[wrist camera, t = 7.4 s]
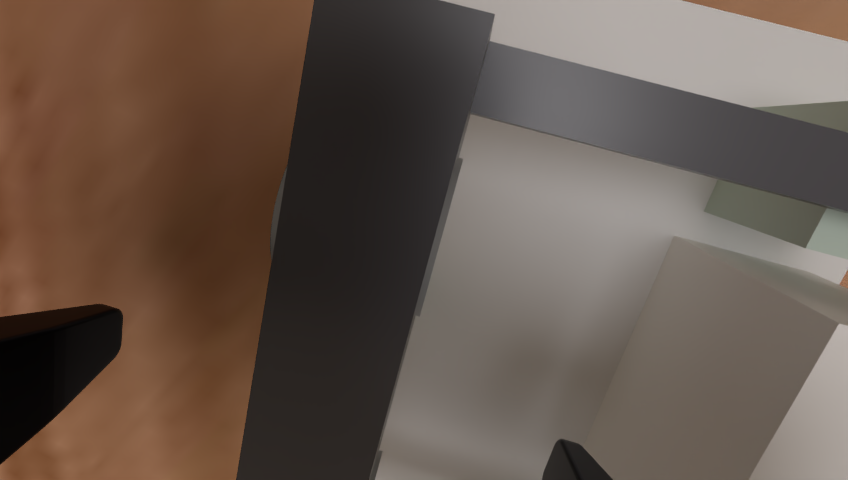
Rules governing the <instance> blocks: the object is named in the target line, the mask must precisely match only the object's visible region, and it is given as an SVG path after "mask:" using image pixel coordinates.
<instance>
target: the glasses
mask: <svg viewBox="0 0 848 480" xmlns="http://www.w3.org/2000/svg"><path fill="white" fill-rule="evenodd" d="M494 17H495V14H493V13H489V12H485V11H481V10H477V9H473V8H469V7H465V6H461V5H457V4H453V3H449V2H445V1H441V0H314V5H313V11H312V18H311V24H310V30H309V36H308V42H307V48H306V54H305V61H304V67H303V73H302V79H301V85H300V91H299V97H298V104H297V110H296V116H295V122H294V128H293V134H292V140H291V147H290V153H289V159H288V165H287V167H286V169H285V172H284V175H283V178H282V181H281V184H280V187H279V191H278V194H277V198H276V202H275V207H274V212H273V218H272V225H271V237H270V251H271V260H272V263H271V269H270V275H269V282H268V288H267V294H266V300H265V306H264V312H263V318H262V325H261V331H260V337H259V343H258V349H257V355H256V361H255V368H254V374H253V380H252V386H251V392H250V398H249V404H248V411H247V417H246V423H245V429H244V435H243V441H242V447H241V454H240V460H239V466H238V472H237V478H236V480H375V477H376V474H377V470H378V467H379V463H380V459H381V456H382V452H383V451H381V450H379V448H380V445H381V441H382V437H383V434H384V430H385V426H386V423H387V419H388V415H389V412H390V408H391V404H392V401H393V397H394V393H395V390H396V386H397V382H398V379H399V375H400V371H401V368H402V364H403V360H404V357H405V353H406V349H407V346H408V342H409V338H410V335H411V331H412V327H413V324H414V320H415V316H418V317H420V314H421V310H422V307H423V303H424V300H425V296H426V292H427V289H428V285H429V282H430V278H431V274H432V271H433V267H434V263H435V260H436V256H437V253H438V249H439V245H440V242H441V238H442V235H443V231H444V227H445V224H446V220H447V216H448V213H449V209H450V206H451V202H452V198H453V195H454V191H455V187H456V184H457V180H458V176H459V173H460V169H461V166H462V162H463V159H462V158H459V155H460V151H461V148H462V144H463V140H464V137H465V133H466V129H467V126H468V122H469V118H470V115H471V114H472V115H476V116H479V117H483V118H487V119H491V120H495V121H498V122H502V123H506V124H510V125H514V126H517V127H521V128H525V129H529V130H533V131H536V132H540V133H544V134H548V135H552V136H555V137H559V138H563V139H567V140H571V141H574V142H578V143H582V144H586V145H590V146H593V147H597V148H601V149H605V150H609V151H612V152H616V153H620V154H624V155H628V156H631V157H635V158H639V159H643V160H647V161H650V162H654V163H658V164H662V165H666V166H669V167H673V168H677V169H681V170H685V171H688V172H692V173H696V174H700V175H704V176H707V177H711V178H715V179H719V180H723V181H726V182H730V183H734V184H738V185H742V186H745V187H749V188H753V189H757V190H761V191H764V192H768V193H772V194H776V195H780V196H783V197H787V198H791V199H795V200H799V201H802V202H806V203H810V204H814V205H818V206H821V207H825V208H829V209H833V210H837V211H840V212H844V213H848V132H844V131H840V130H836V129H832V128H828V127H824V126H820V125H816V124H812V123H808V122H805V121H801V120H797V119H793V118H789V117H785V116H781V115H777V114H773V113H769V112H765V111H761V110H758V109H754V108H750V107H746V106H742V105H738V104H734V103H730V102H726V101H722V100H718V99H715V98H711V97H707V96H703V95H699V94H695V93H691V92H687V91H683V90H679V89H675V88H672V87H668V86H664V85H660V84H656V83H652V82H648V81H644V80H640V79H636V78H632V77H629V76H625V75H621V74H617V73H613V72H609V71H605V70H601V69H597V68H593V67H589V66H585V65H582V64H578V63H574V62H570V61H566V60H562V59H558V58H554V57H550V56H546V55H542V54H539V53H535V52H531V51H527V50H523V49H519V48H515V47H511V46H507V45H503V44H499V43H496V42H492V41H490V37H491V32H492V27H493V22H494Z"/></svg>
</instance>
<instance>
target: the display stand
mask: <svg viewBox="0 0 848 480" xmlns="http://www.w3.org/2000/svg"><path fill="white" fill-rule="evenodd" d="M441 1H445V2H449V3H453V4H457V5H461V6H465V7H469V8H473V9H477V10H481V11H485V12H489V13H493V14H495V17H494V22H493V27H492V32H491V37H490V41H492V42H496V43H499V44H503V45H507V46H511V47H515V48H519V49H523V50H527V51H531V52H535V53H539V54H542V55H546V56H550V57H554V58H558V59H562V60H566V61H570V62H574V63H578V64H582V65H585V66H589V67H593V68H597V69H601V70H605V71H609V72H613V73H617V74H621V75H625V76H629V77H632V78H636V79H640V80H644V81H648V82H652V83H656V84H660V85H664V86H668V87H672V88H675V89H679V90H683V91H687V92H691V93H695V94H699V95H703V96H707V97H711V98H715V99H718V100H722V101H726V102H730V103H734V104H738V105H742V106H746V107H750V108H754V109H758V110H761V111H765V112H769V113H773V114H777V115H781V116H785V117H789V118H793V119H797V120H801V121H805V122H808V123H812V124H816V125H820V126H824V127H828V128H832V129H836V130H840V131H844V132H848V42H847V41H843V40H839V39H835V38H831V37H827V36H823V35H819V34H815V33H811V32H807V31H803V30H799V29H795V28H791V27H787V26H783V25H779V24H775V23H770V22H766V21H762V20H758V19H754V18H750V17H746V16H742V15H738V14H734V13H730V12H726V11H722V10H718V9H714V8H710V7H706V6H702V5H698V4H694V3H690V2H686V1H682V0H441ZM459 158H462V159H463V162H462V166H461V169H460V173H459V176H458V180H457V184H456V187H455V191H454V195H453V198H452V202H451V206H450V209H449V213H448V216H447V220H446V224H445V227H444V231H443V235H442V238H441V242H440V245H439V249H438V253H437V256H436V260H435V263H434V267H433V271H432V274H431V278H430V282H429V285H428V289H427V292H426V296H425V300H424V303H423V307H422V310H421V314H420V317H418V316H415V320H414V324H413V327H412V331H411V335H410V338H409V342H408V346H407V349H406V353H405V357H404V360H403V364H402V368H401V371H400V375H399V379H398V382H397V386H396V390H395V393H394V397H393V401H392V404H391V408H390V412H389V415H388V419H387V423H386V426H385V430H384V434H383V437H382V441H381V445H380V448H379V450H381V451H383V452H382V456H381V459H380V463H379V467H378V470H377V474H376V477H375V480H542V476H543V472H544V469H545V467H546V464H547V462H548V459H549V457H550V455H551V452H552V450H553V447H554V445H555V443H556V442H557V440H559V439H565V440H568V441H572V442H575V443H578V444H580V445H581V446H583V448H584V449H585V450H586V451H587V452H588V453H589V454H590V455H591V456H592V457H593V458H594V459H595V461H596V462H597V463H598V464H599V465H600V466H601V467H602V468H603V469H604V470H605V471H606V472H607V474H608V475H609V476H610V477H611V478H612V479H613V480H848V288H845V287H843V286H841V285H839V284H840V282H841V280H842V278H843V277H844V275H845V273H846V271H847V270H848V213H844V212H840V211H837V210H833V209H829V208H825V207H821V206H818V205H814V204H810V203H806V202H802V201H799V200H795V199H791V198H787V197H783V196H780V195H776V194H772V193H768V192H764V191H761V190H757V189H753V188H749V187H745V186H742V185H738V184H734V183H730V182H726V181H723V180H719V179H715V178H711V177H707V176H704V175H700V174H696V173H692V172H688V171H685V170H681V169H677V168H673V167H669V166H666V165H662V164H658V163H654V162H650V161H647V160H643V159H639V158H635V157H631V156H628V155H624V154H620V153H616V152H612V151H609V150H605V149H601V148H597V147H593V146H590V145H586V144H582V143H578V142H574V141H571V140H567V139H563V138H559V137H555V136H552V135H548V134H544V133H540V132H536V131H533V130H529V129H525V128H521V127H517V126H514V125H510V124H506V123H502V122H498V121H495V120H491V119H487V118H483V117H479V116H476V115H472V114H471V115H470V118H469V122H468V126H467V129H466V133H465V137H464V140H463V144H462V148H461V151H460V155H459Z"/></svg>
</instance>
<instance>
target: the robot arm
mask: <svg viewBox="0 0 848 480" xmlns="http://www.w3.org/2000/svg"><path fill="white" fill-rule="evenodd" d="M122 325H123V314H122V312H121V311H120V310H119V309H117V308H114V307H110V306H107V305H103V304H94V305H87V306H79V307H72V308H64V309H57V310H50V311H42V312H35V313H27V314H20V315H12V316H5V317H0V464H1V463H3V462H4V461H5V460H6V459H7V458H9V457H10V456H11V455H12V454H13V453H14V452H16V451H17V450H18V449H19V448H20V447H21V446H23V445H24V444H25V443H26V442H27V441H29V440H30V439H31V438H32V437H33V436H34V435H36V434H37V433H38V432H39V431H40V430H41V429H43V428H44V427H45V426H46V425H47V424H48V423H49V422H51V421H52V420H53V419H54V418H55V417H56V416H57V415H58V414H59V413H60V412H61V411H62V410H63V409H64V408H65V407H66V406H67V405H68V404H69V403H70V402H71V401H72V400H73V399H74V398H75V397H76V396H77V395H78V394H79V393H80V392H81V391H82V390H83V389H84V388H85V387H86V386H87V385H88V384H89V383H90V382H91V381H92V380H93V379H94V378H95V377H96V376H97V375H98V374H99V373H100V372H101V371H102V370H103V369H104V368H105V367H106V366H107V365H108V364H109V363H110V362H111V361H112V360H113V359H114V358H115V357H116V355H117V354H118V352H119V350H120V347H121V341H122ZM542 480H613V479H612V478H611V477H610V476H609V475H608V474H607V472H606V471H605V470H604V469H603V468H602V467H601V466H600V465H599V464H598V463H597V462H596V461H595V459H594V458H593V457H592V456H591V455H590V454H589V453H588V452H587V451H586V450H585V449H584V448H583V446H581V445H580V444H578V443H575V442H572V441H568V440H565V439H559V440H557V442H556V443H555V445H554V447H553V450H552V452H551V455H550V457H549V459H548V462H547V464H546V467H545V469H544V472H543V476H542Z"/></svg>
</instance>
